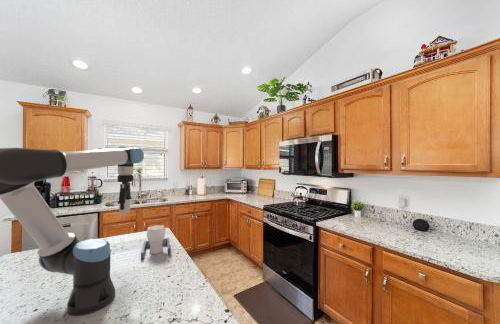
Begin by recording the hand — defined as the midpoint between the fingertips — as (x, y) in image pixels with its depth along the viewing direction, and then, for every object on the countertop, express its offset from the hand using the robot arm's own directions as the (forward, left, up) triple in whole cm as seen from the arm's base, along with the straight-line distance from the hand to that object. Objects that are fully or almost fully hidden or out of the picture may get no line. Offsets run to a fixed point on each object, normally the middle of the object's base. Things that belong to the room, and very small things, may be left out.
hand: (124, 213), depth 112 cm
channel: (+11, -15, -28) cm, 34 cm away
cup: (+11, -15, -28) cm, 34 cm away
